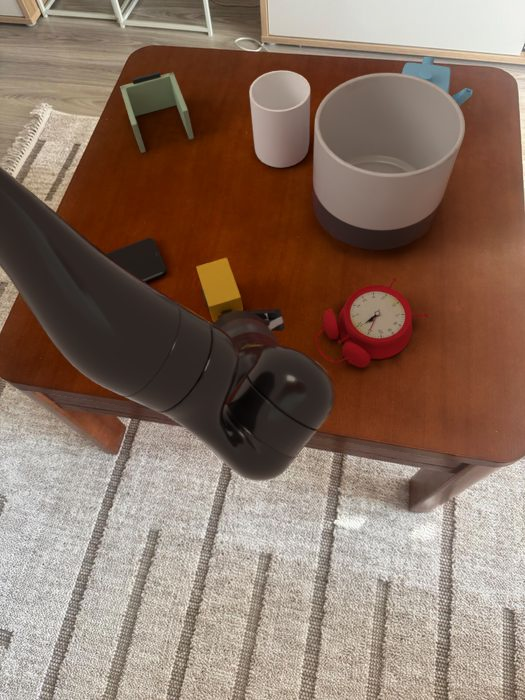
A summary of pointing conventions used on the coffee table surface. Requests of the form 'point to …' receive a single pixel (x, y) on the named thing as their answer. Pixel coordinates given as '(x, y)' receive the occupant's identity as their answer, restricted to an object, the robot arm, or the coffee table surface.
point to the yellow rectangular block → (219, 288)
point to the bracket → (154, 100)
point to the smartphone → (141, 259)
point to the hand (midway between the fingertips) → (227, 317)
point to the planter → (383, 158)
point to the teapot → (435, 77)
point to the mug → (280, 117)
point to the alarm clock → (370, 325)
